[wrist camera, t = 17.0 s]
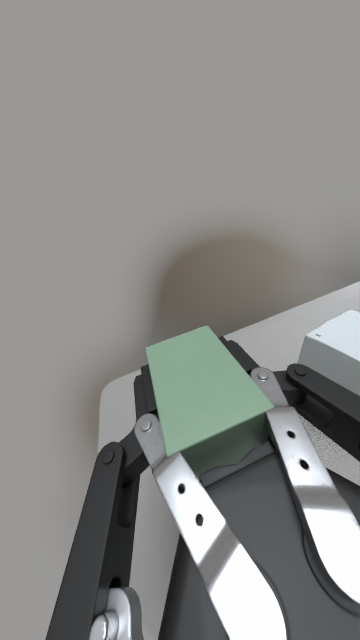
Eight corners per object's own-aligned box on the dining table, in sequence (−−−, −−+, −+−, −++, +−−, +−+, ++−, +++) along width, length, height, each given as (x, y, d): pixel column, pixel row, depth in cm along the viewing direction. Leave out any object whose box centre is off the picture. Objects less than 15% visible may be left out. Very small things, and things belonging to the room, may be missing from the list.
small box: (332, 439, 21) (379, 372, 14) (286, 398, 26) (303, 333, 19) (372, 406, 23) (429, 332, 16) (321, 374, 28) (348, 307, 21)
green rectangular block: (262, 477, 13) (275, 406, 7) (201, 509, 12) (166, 457, 7) (218, 397, 19) (207, 324, 13) (175, 416, 18) (145, 347, 12)
